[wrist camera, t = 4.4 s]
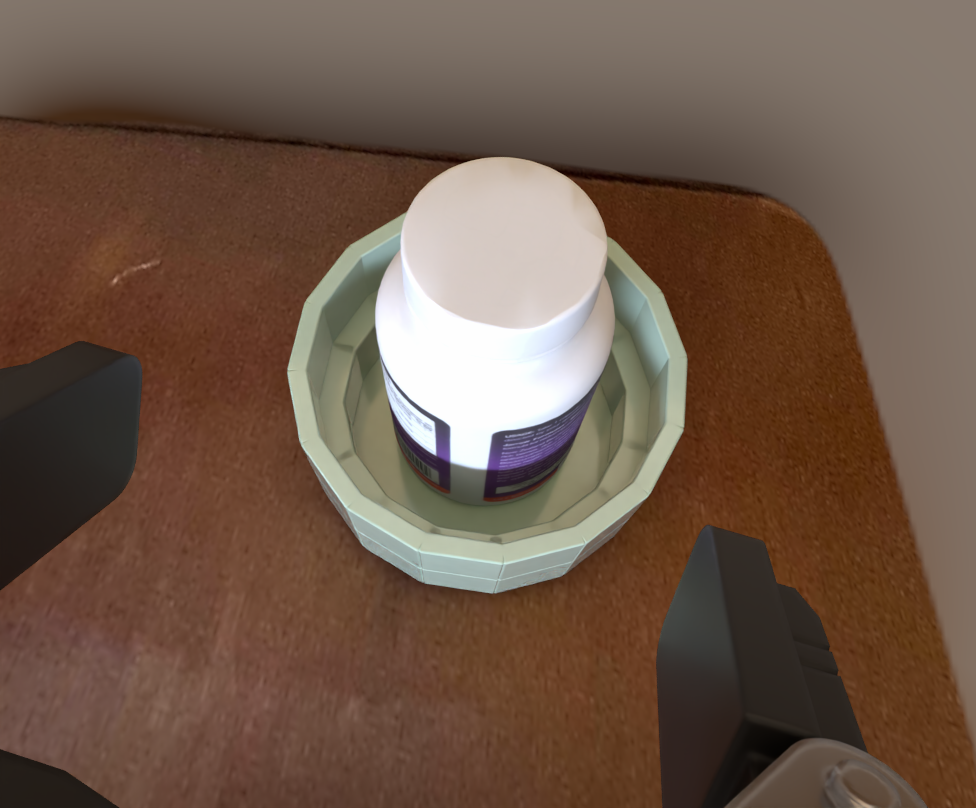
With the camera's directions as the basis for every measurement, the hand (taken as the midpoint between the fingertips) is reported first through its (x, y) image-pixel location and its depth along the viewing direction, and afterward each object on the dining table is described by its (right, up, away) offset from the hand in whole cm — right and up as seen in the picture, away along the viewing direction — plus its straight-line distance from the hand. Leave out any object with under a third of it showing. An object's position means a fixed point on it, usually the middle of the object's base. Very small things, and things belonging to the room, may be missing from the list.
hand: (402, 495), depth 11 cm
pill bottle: (+1, +1, +13) cm, 13 cm away
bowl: (+1, +1, +13) cm, 13 cm away
